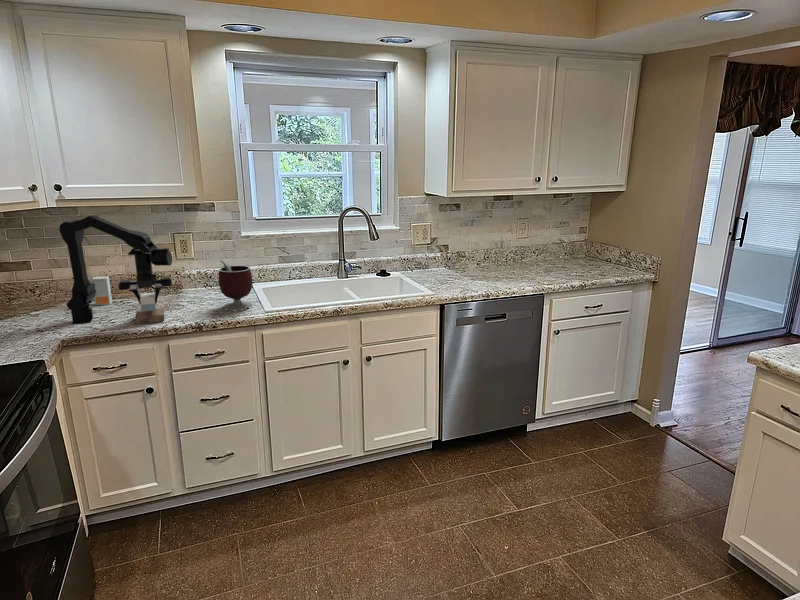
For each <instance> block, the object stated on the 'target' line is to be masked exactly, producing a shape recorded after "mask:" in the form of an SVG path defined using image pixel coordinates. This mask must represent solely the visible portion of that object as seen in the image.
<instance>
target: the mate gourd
mask: <svg viewBox="0 0 800 600" xmlns="http://www.w3.org/2000/svg"><path fill="white" fill-rule="evenodd" d="M220 262H221V263H222V264H223V267H220V268H218V287H219V289H220V292H221V293H222V294H223V296H224V297H225V298H228V299H232V300H233V301H232V302H228V303H225V304H223V306H222V309H223V308H224V309H227V310H226V311H228V310H241V311H243V310H242V309H246V310H248V309H247V308H249V307H251V306H252V307H253V303H252V302H249V301H242V300H241V299H243V298H245V297H247V296H249V294H250V293H251V292H252V290H253V274H252V270H251V267H250V266H249V265H248V266H247V265H230V264H229V263H228V262H227V261H225V260H223V259H220ZM252 307H251V308H252ZM224 309H223V310H224ZM249 309H250V308H249Z"/></svg>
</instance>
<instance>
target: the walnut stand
mask: <svg viewBox="0 0 800 600" xmlns="http://www.w3.org/2000/svg"><path fill="white" fill-rule="evenodd" d="M134 318H135V325H136V326H138V325H139V324H140V325H147V324H146V323H149V324H155V323H154V322H159V323H164V322H165V309H164V308H162V307H160V308H159V307H158V308H156V310H148V311H142V310H140V309H139V310H136V313H135V317H134ZM163 321H164V322H163Z"/></svg>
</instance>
